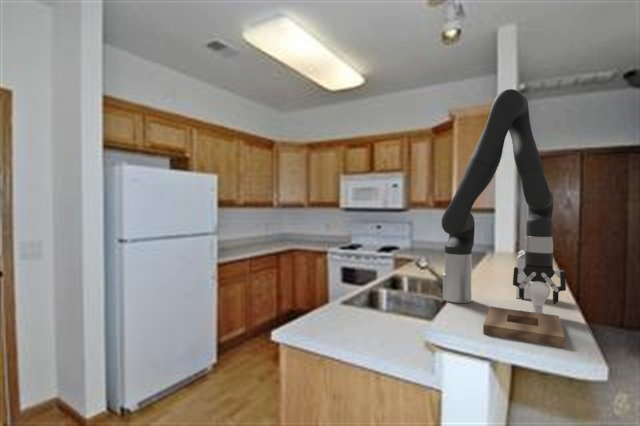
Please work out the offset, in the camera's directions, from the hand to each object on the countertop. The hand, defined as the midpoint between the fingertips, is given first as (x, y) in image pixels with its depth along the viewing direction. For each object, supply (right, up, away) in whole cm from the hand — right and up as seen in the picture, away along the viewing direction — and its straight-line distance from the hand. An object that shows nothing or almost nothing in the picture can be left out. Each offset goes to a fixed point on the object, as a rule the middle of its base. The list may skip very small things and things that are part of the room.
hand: (538, 301), depth 113 cm
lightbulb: (0, -4, 0) cm, 4 cm away
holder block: (-13, -4, -13) cm, 19 cm away
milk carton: (+9, -4, +21) cm, 24 cm away
